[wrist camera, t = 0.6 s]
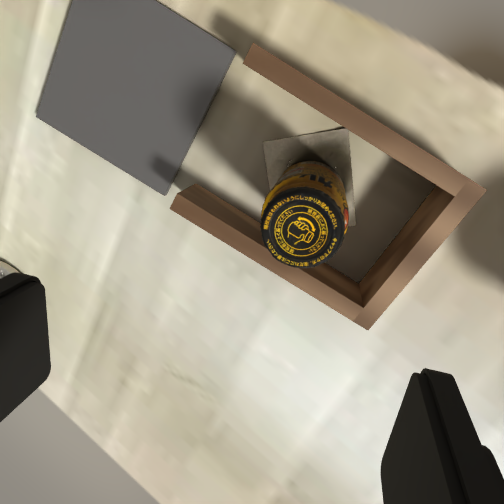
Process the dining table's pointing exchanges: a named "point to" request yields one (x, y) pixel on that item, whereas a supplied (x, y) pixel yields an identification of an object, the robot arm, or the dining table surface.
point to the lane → (401, 248)
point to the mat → (133, 85)
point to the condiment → (307, 197)
